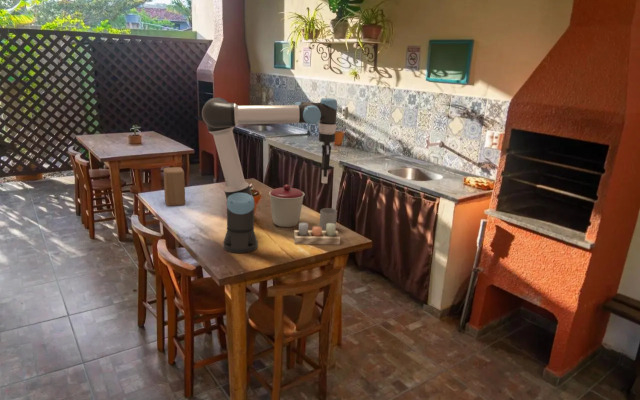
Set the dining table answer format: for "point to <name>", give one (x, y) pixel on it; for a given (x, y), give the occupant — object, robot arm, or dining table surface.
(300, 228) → the grey egg
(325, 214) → the cup
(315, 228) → the brown egg
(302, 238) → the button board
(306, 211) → the dining table surface
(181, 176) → the block
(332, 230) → the pale green egg
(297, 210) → the canister
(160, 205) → the dining table surface
